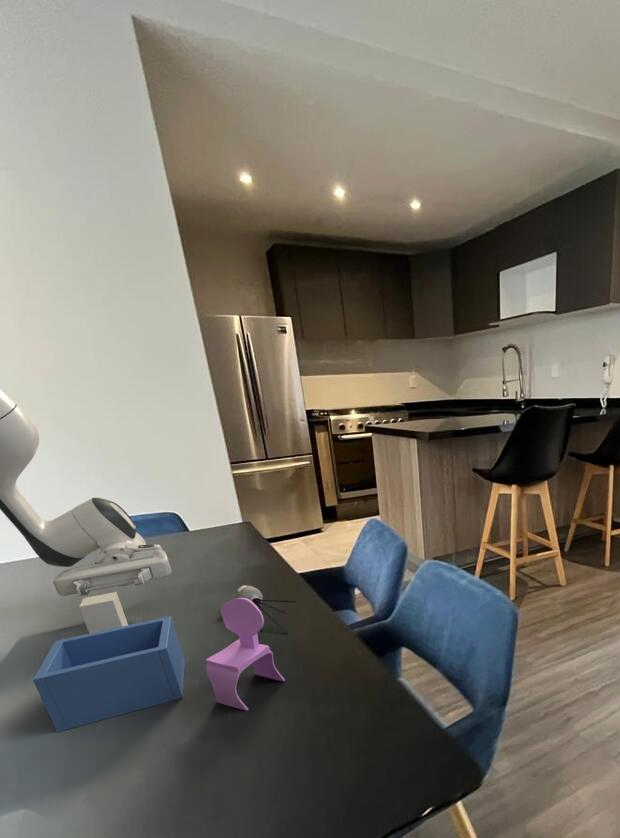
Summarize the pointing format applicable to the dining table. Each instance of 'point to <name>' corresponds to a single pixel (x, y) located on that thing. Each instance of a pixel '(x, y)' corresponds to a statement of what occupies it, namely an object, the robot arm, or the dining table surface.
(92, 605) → the cream rectangular block
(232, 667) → the toy chair
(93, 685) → the box
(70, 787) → the dining table surface
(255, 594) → the reed diffuser
